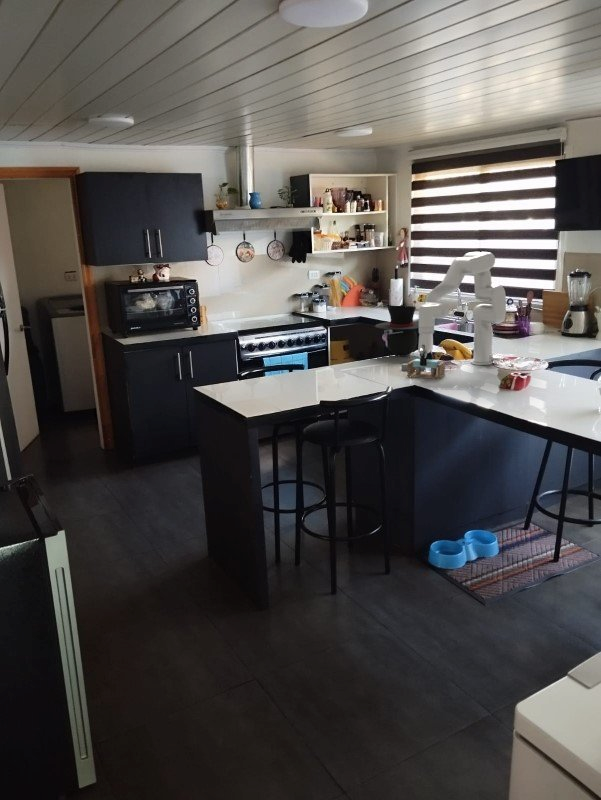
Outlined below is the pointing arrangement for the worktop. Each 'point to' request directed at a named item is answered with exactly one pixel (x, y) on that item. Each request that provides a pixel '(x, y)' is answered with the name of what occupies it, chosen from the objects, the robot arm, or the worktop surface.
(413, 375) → the peg cradle
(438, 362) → the shelf board
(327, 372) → the worktop surface
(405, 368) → the riser
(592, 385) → the worktop surface
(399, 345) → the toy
